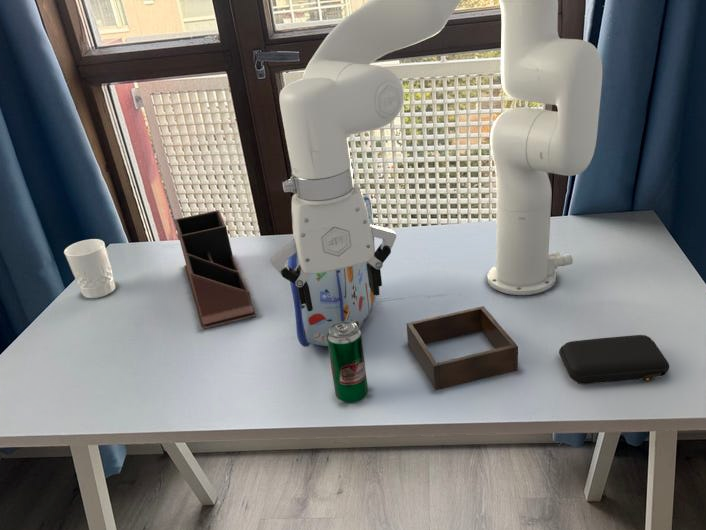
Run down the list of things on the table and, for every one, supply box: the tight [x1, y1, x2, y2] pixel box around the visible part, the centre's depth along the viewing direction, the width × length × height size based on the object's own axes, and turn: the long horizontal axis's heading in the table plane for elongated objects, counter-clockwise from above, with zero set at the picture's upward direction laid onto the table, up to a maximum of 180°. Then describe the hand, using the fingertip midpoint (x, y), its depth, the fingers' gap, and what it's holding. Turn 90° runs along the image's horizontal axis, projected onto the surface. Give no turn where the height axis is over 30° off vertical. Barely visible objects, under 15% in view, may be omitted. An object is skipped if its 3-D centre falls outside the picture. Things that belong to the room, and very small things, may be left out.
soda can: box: [327, 321, 369, 404], centre depth 105 cm, size 5×5×12 cm
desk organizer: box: [173, 209, 258, 330], centre depth 139 cm, size 10×29×11 cm, turn 19°
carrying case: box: [558, 334, 670, 385], centre depth 106 cm, size 11×3×15 cm
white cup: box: [63, 238, 116, 299], centre depth 144 cm, size 8×8×10 cm
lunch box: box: [287, 194, 376, 348], centre depth 121 cm, size 28×10×22 cm, turn 168°
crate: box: [405, 305, 519, 391], centre depth 112 cm, size 14×14×4 cm
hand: (341, 298), depth 99 cm, fingers open, 9 cm apart
